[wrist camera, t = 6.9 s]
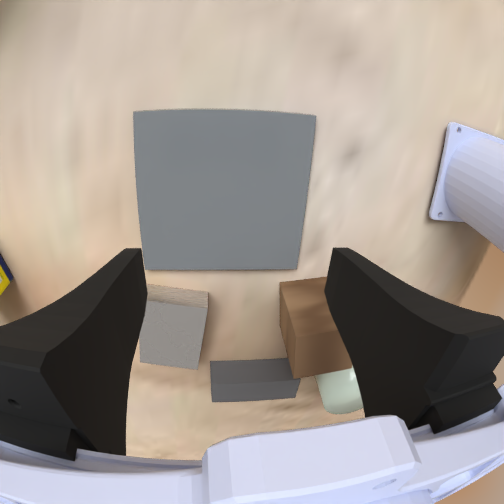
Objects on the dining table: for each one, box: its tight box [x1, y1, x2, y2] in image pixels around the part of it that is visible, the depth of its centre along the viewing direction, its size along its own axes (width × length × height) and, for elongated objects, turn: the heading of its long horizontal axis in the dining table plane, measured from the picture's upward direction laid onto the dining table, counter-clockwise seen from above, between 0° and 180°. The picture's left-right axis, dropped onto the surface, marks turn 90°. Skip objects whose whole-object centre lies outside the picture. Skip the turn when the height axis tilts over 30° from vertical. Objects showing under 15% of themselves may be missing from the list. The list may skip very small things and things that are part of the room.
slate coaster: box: [133, 109, 316, 270], centre depth 20 cm, size 11×11×1 cm
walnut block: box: [280, 277, 352, 379], centre depth 23 cm, size 4×4×6 cm
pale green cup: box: [315, 365, 363, 414], centre depth 28 cm, size 6×6×5 cm
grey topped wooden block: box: [139, 284, 208, 369], centre depth 25 cm, size 7×5×2 cm
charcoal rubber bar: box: [210, 358, 300, 402], centre depth 28 cm, size 8×3×3 cm, turn 86°
